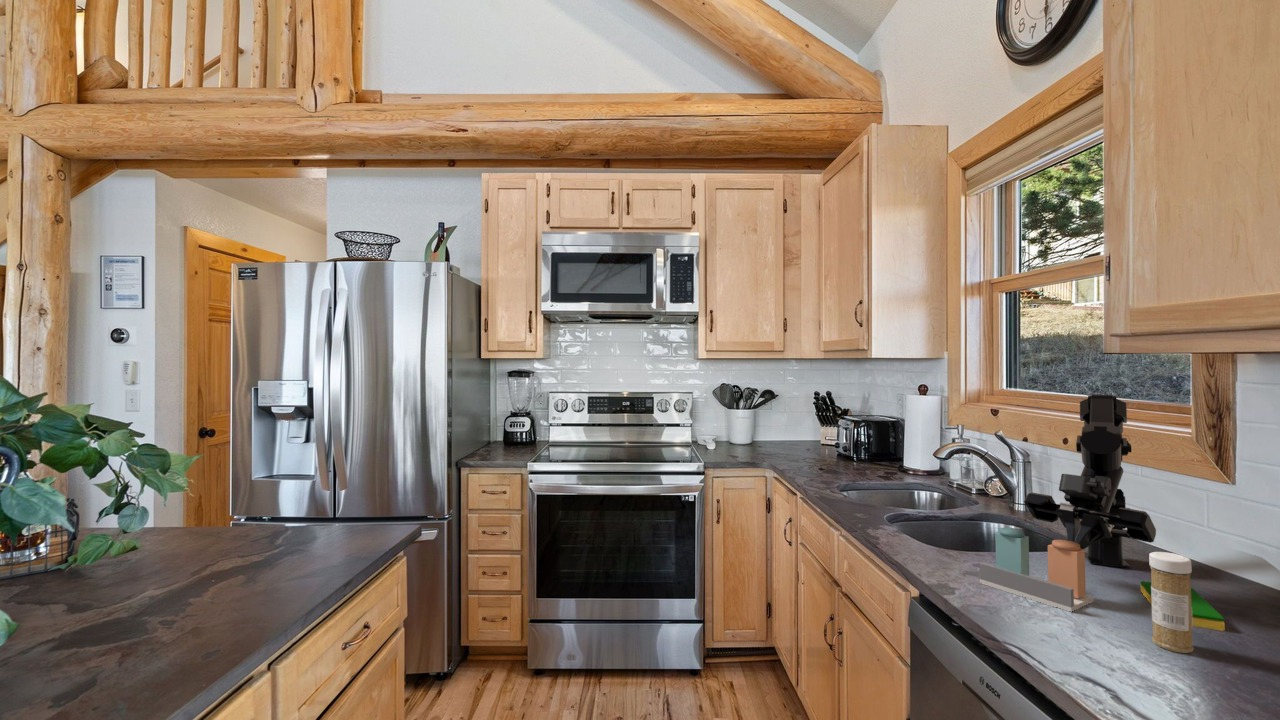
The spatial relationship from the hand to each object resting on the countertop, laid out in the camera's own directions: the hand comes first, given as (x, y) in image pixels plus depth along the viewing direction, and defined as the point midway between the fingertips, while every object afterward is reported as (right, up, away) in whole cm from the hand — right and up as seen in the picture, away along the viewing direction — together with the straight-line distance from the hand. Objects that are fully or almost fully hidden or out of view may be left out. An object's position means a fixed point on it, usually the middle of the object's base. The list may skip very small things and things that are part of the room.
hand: (1071, 553), depth 100 cm
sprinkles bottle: (+1, -8, -18) cm, 20 cm away
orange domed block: (-2, -7, -1) cm, 7 cm away
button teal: (-6, -7, +7) cm, 11 cm away
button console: (-5, -8, +2) cm, 10 cm away
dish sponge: (+14, -8, -6) cm, 17 cm away
